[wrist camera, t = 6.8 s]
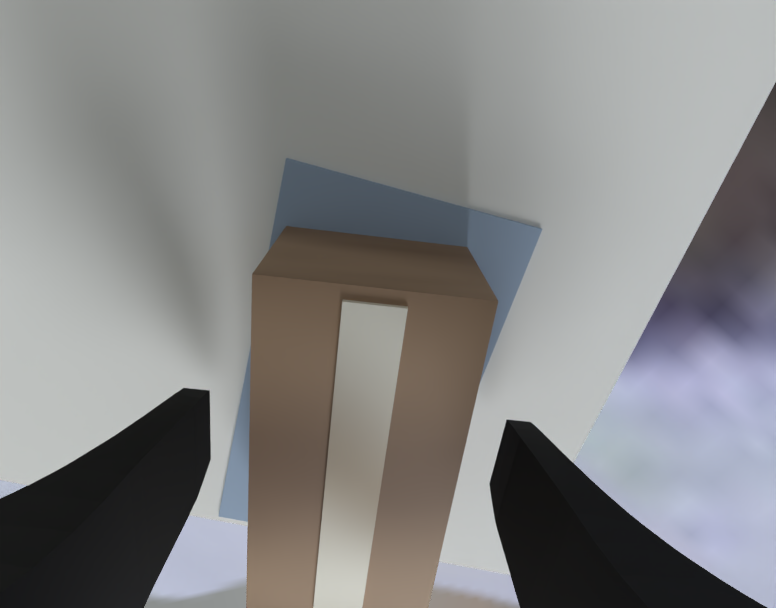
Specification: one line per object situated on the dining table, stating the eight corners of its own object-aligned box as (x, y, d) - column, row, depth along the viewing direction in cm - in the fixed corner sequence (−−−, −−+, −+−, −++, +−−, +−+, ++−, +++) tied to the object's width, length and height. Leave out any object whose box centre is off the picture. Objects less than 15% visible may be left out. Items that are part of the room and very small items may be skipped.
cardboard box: (415, 516, 16) (424, 627, 12) (274, 504, 15) (245, 616, 12) (467, 247, 12) (499, 302, 9) (286, 226, 12) (250, 276, 9)
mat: (857, -113, 10) (890, -128, 9) (509, 560, 18) (514, 578, 17) (-222, -543, 8) (-275, -600, 7) (-94, 445, 15) (-115, 461, 15)
